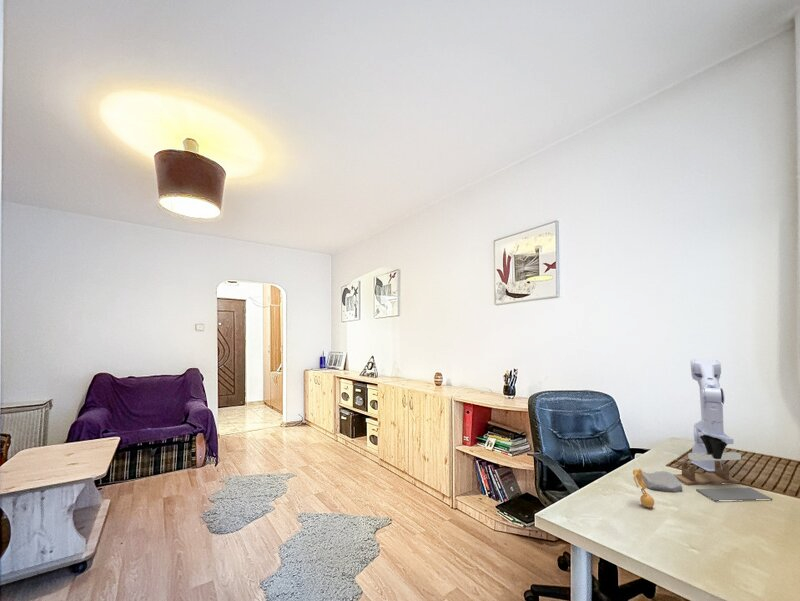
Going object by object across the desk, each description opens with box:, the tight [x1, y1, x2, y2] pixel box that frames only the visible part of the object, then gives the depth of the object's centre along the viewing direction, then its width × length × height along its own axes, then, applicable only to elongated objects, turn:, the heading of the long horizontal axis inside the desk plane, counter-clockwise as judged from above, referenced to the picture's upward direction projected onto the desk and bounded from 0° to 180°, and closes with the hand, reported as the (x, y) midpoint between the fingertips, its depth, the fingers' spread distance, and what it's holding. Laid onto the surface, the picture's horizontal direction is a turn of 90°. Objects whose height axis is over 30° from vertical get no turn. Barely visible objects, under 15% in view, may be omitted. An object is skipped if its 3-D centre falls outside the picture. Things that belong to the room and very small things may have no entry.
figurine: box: [632, 468, 655, 508], centre depth 130 cm, size 8×6×12 cm
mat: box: [695, 487, 773, 502], centre depth 136 cm, size 8×20×1 cm, turn 91°
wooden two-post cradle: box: [672, 460, 740, 486], centre depth 148 cm, size 20×7×6 cm, turn 91°
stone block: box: [642, 470, 683, 493], centre depth 144 cm, size 12×5×10 cm
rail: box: [687, 451, 742, 461], centre depth 143 cm, size 18×2×2 cm, turn 91°
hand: (714, 457), depth 143 cm, fingers closed on rail, 2 cm apart
